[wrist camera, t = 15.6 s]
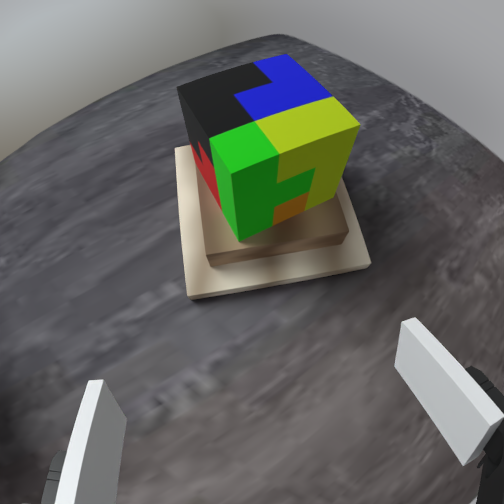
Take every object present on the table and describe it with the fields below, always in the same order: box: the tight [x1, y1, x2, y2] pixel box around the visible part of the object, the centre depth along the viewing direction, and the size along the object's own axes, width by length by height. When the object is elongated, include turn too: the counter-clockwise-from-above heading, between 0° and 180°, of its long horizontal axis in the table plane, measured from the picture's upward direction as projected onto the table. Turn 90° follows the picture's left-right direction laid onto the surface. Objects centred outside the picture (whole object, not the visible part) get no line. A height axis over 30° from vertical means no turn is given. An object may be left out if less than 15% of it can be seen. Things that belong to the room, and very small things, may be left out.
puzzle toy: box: [177, 54, 360, 242], centre depth 26 cm, size 10×10×10 cm
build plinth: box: [175, 145, 371, 300], centre depth 32 cm, size 18×18×4 cm
